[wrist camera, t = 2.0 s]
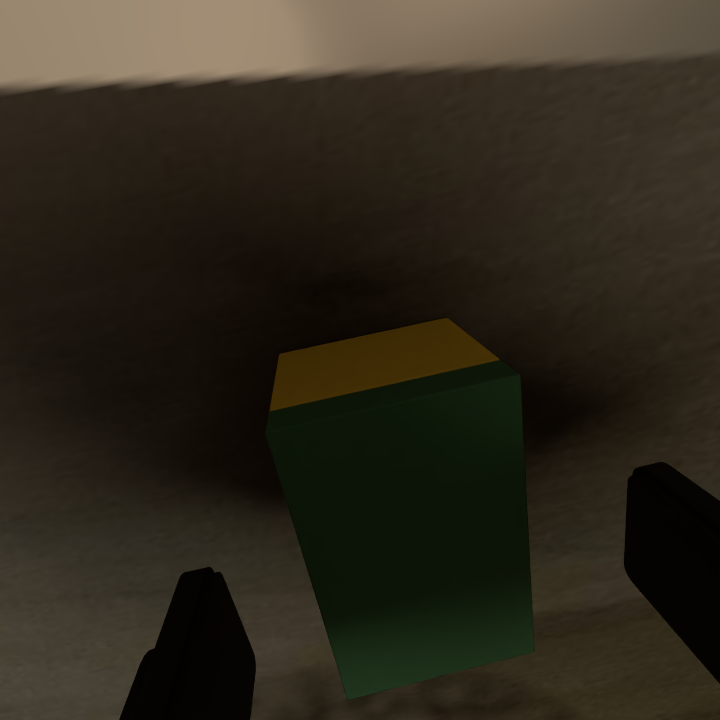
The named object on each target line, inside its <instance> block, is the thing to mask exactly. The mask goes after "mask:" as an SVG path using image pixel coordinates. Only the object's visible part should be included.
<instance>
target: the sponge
mask: <svg viewBox="0 0 720 720" xmlns="http://www.w3.org/2000/svg"><path fill="white" fill-rule="evenodd" d="M265 434H266V437H267V441H268V444H269V447H270V450H271V453H272V457H273V460H274V463H275V466H276V470H277V473H278V476H279V479H280V483H281V486H282V489H283V492H284V496H285V499H286V502H287V505H288V509H289V512H290V515H291V518H292V521H293V525H294V528H295V531H296V534H297V538H298V541H299V544H300V547H301V551H302V554H303V557H304V560H305V564H306V567H307V570H308V573H309V576H310V580H311V583H312V586H313V589H314V593H315V596H316V599H317V602H318V606H319V609H320V612H321V615H322V619H323V622H324V625H325V628H326V632H327V635H328V638H329V641H330V644H331V648H332V651H333V654H334V657H335V661H336V664H337V667H338V670H339V674H340V677H341V680H342V683H343V687H344V690H345V693H346V696H347V699H349V700H350V699H354V698H358V697H361V696H365V695H369V694H373V693H377V692H381V691H385V690H388V689H392V688H396V687H400V686H404V685H408V684H412V683H415V682H419V681H423V680H427V679H431V678H435V677H438V676H442V675H446V674H450V673H454V672H458V671H462V670H465V669H469V668H473V667H477V666H481V665H485V664H489V663H492V662H496V661H500V660H504V659H508V658H512V657H516V656H519V655H523V654H527V653H531V652H534V651H535V650H534V631H533V611H532V592H531V573H530V553H529V534H528V515H527V495H526V476H525V457H524V437H523V418H522V398H521V379H520V375H519V374H518V373H517V372H516V371H514V370H513V369H512V368H511V367H509V366H508V365H507V364H506V363H504V362H503V361H502V360H499V358H498V357H496V356H495V355H494V354H492V353H491V352H490V351H489V350H487V349H486V348H485V347H484V346H482V345H481V344H480V343H479V342H477V341H476V340H475V339H474V338H472V337H471V336H470V335H468V334H467V333H466V332H465V331H463V330H462V329H461V328H460V327H458V326H457V325H456V324H455V323H453V322H452V321H451V320H449V319H448V318H443V319H438V320H434V321H429V322H424V323H420V324H415V325H411V326H406V327H401V328H397V329H392V330H388V331H383V332H378V333H374V334H369V335H364V336H360V337H355V338H351V339H346V340H341V341H337V342H332V343H328V344H323V345H318V346H314V347H309V348H304V349H300V350H295V351H291V352H286V353H281V354H279V358H278V364H277V370H276V376H275V382H274V388H273V393H272V399H271V405H270V411H269V415H268V421H267V427H266V432H265Z"/></svg>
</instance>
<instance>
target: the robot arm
mask: <svg viewBox="0 0 720 720" xmlns="http://www.w3.org/2000/svg"><path fill="white" fill-rule="evenodd" d="M624 567H625V570H626V573H627V575H628V577H629V578H630V580H631V581H632V582H633V584H634V585H635V586H636V587H637V588H638V589H639V591H640V592H641V593H642V594H643V595H644V596H645V598H646V599H647V600H648V601H649V602H650V603H651V604H652V606H653V607H654V608H655V609H656V610H657V611H658V613H659V614H660V615H661V616H662V617H663V618H664V620H665V621H666V622H667V623H668V624H669V625H670V627H671V628H672V629H673V630H674V631H675V632H676V634H677V635H678V636H679V637H680V638H681V639H682V640H683V642H684V643H685V644H686V645H687V646H688V647H689V649H690V650H691V651H692V652H693V653H694V654H695V656H696V657H697V658H698V659H699V660H700V661H701V663H702V664H703V665H704V666H705V667H706V668H707V669H708V671H709V672H710V673H711V674H712V675H713V676H714V678H715V679H716V680H717V681H718V682H719V683H720V501H719V500H718V499H716V498H715V497H713V496H712V495H711V494H709V493H708V492H706V491H705V490H704V489H702V488H701V487H699V486H698V485H697V484H695V483H694V482H692V481H691V480H690V479H688V478H687V477H685V476H684V475H683V474H681V473H680V472H678V471H677V470H676V469H674V468H673V467H671V466H670V465H668V464H666V463H664V462H659V463H654V464H650V465H646V466H642V467H638V468H635V469H634V471H633V475H632V476H630V477H629V478H628V487H627V508H626V529H625V551H624ZM255 673H256V662H255V655H254V652H253V649H252V647H251V645H250V642H249V640H248V637H247V635H246V632H245V630H244V627H243V625H242V622H241V620H240V617H239V615H238V612H237V610H236V607H235V605H234V602H233V600H232V597H231V595H230V592H229V590H228V587H227V585H226V582H225V580H224V577H223V575H222V573H221V572H216V573H214V571H213V569H212V568H211V567H206V568H202V569H197V570H193V571H189V572H185V573H183V574H182V575H181V576H180V578H179V581H178V583H177V586H176V589H175V592H174V595H173V598H172V600H171V603H170V606H169V609H168V612H167V615H166V617H165V620H164V623H163V626H162V629H161V631H160V634H159V637H158V640H157V643H156V646H155V648H154V649H152V650H149V651H148V652H147V653H146V655H145V656H144V657H143V659H142V661H141V664H140V666H139V668H138V671H137V674H136V676H135V679H134V682H133V684H132V687H131V690H130V692H129V695H128V698H127V700H126V703H125V706H124V708H123V711H122V714H121V716H120V719H119V720H250V716H251V707H252V699H253V690H254V682H255Z"/></svg>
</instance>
